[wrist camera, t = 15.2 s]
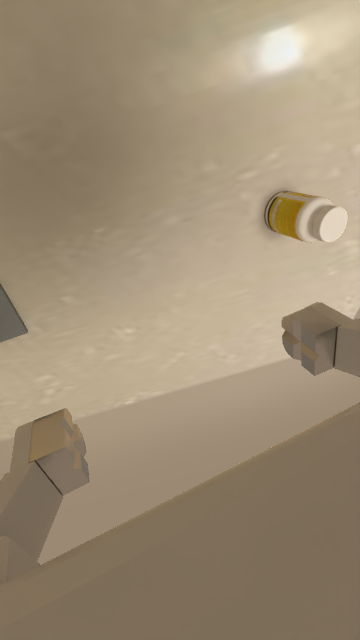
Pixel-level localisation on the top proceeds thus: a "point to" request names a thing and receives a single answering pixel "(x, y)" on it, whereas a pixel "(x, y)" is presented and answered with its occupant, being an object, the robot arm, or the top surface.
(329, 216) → the supplement bottle
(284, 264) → the top surface
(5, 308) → the mat
